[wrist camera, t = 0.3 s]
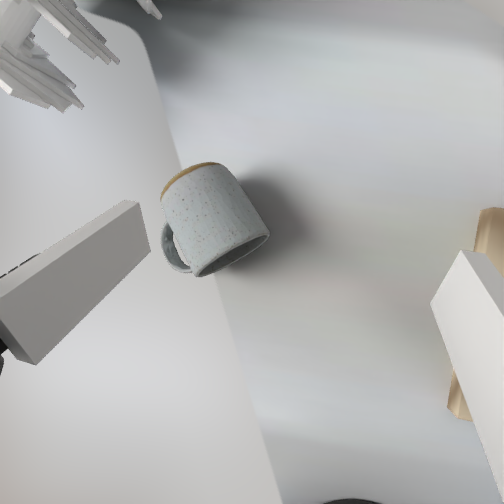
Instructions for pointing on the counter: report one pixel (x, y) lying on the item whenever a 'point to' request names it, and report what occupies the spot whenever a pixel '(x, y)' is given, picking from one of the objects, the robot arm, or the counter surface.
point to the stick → (500, 254)
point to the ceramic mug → (208, 220)
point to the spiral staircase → (35, 58)
